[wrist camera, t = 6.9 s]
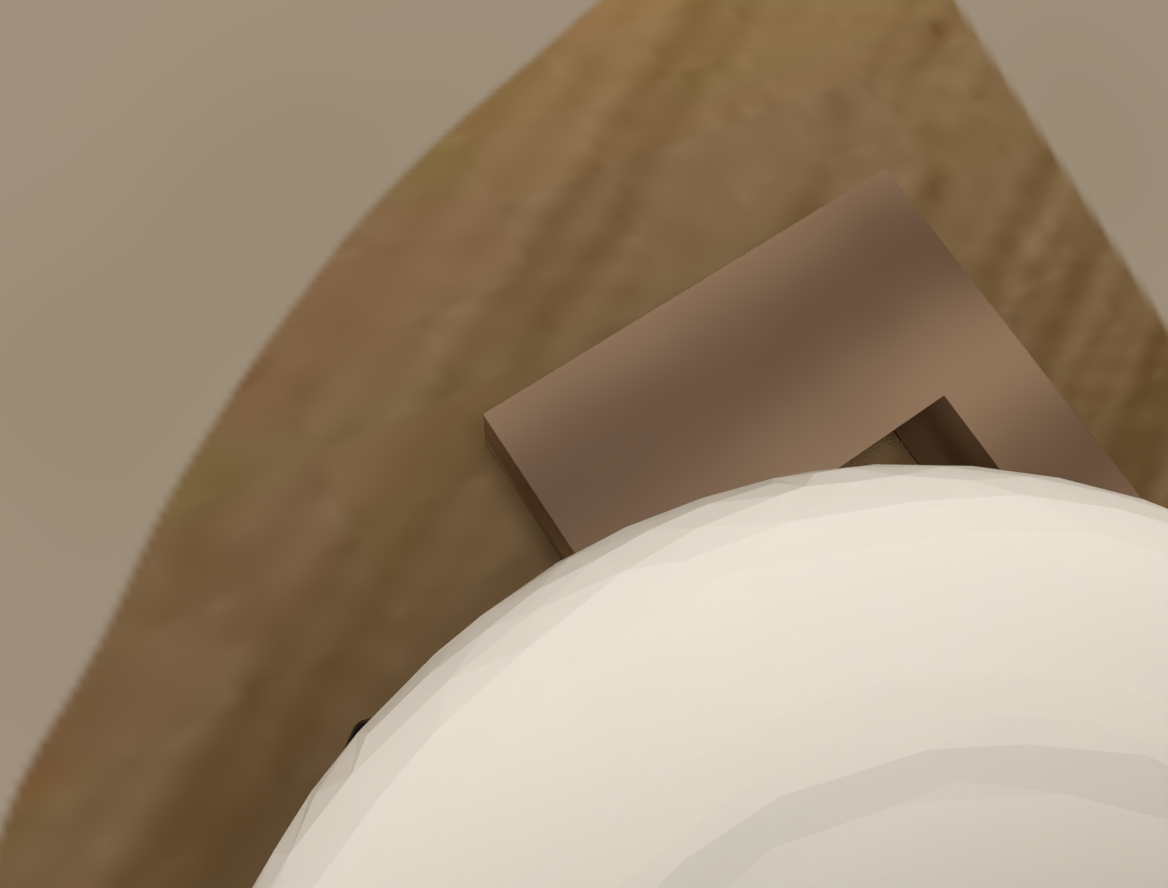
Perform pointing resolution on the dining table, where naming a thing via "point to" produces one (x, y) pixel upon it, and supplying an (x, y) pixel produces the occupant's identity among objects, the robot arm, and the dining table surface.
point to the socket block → (790, 380)
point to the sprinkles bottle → (787, 703)
